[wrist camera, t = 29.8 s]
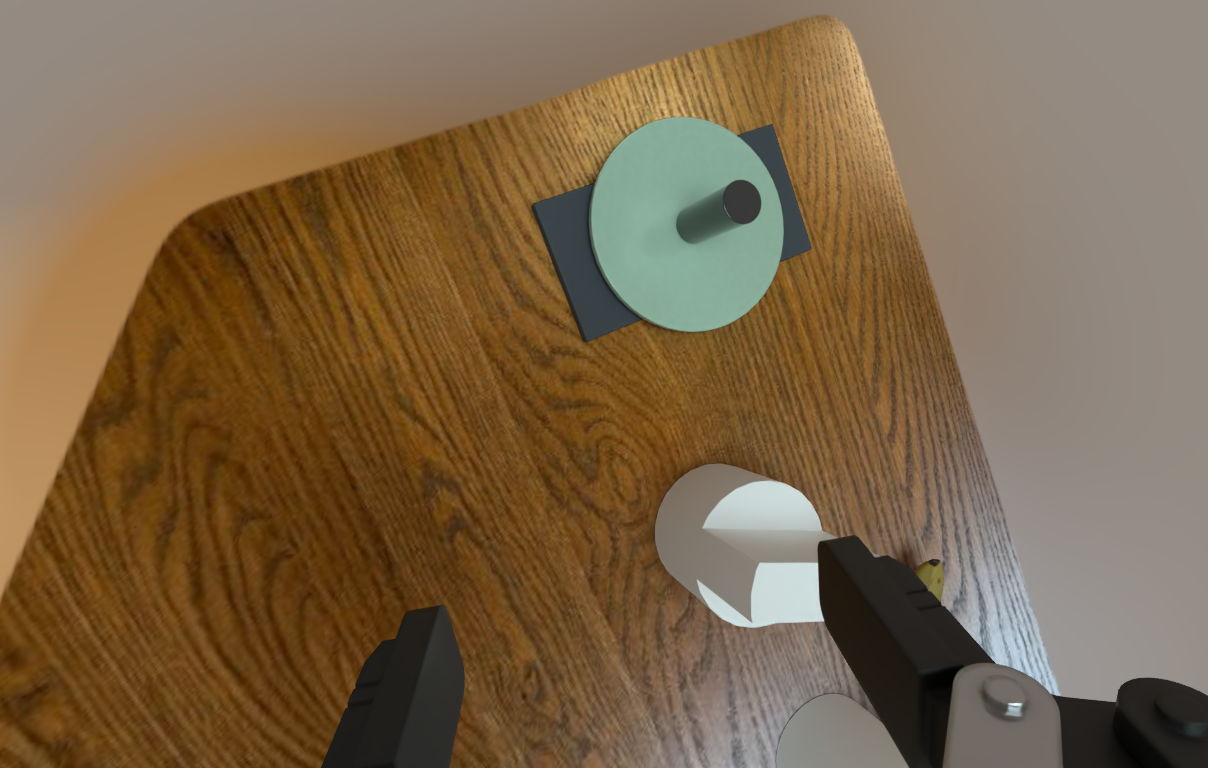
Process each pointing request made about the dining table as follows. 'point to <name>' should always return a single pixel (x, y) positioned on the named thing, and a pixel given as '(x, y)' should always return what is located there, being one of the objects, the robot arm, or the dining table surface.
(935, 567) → the banana
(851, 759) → the container
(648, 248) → the lid
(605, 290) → the mat
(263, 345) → the dining table surface
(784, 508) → the base with upright slab
